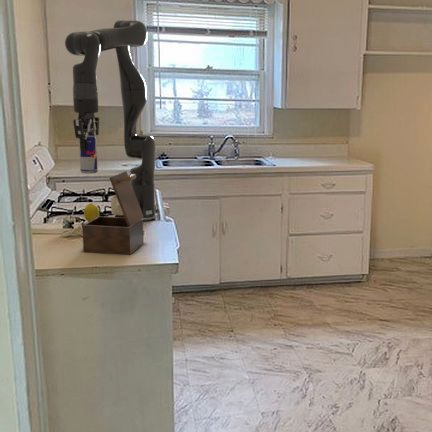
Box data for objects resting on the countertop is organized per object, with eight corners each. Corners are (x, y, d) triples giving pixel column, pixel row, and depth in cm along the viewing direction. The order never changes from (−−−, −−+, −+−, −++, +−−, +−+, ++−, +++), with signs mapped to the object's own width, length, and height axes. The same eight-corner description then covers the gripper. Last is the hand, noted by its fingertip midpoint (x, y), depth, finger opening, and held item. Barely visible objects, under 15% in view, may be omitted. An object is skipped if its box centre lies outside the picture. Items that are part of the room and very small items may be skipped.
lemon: (96, 225, 217) (95, 205, 215) (82, 225, 217) (81, 204, 215) (101, 222, 222) (100, 202, 220) (87, 221, 222) (86, 201, 220)
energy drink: (92, 174, 187) (90, 137, 184) (77, 173, 188) (75, 136, 185) (100, 171, 192) (99, 135, 189) (86, 170, 193) (84, 134, 190)
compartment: (83, 251, 185) (82, 225, 183) (99, 240, 197) (98, 216, 195) (130, 254, 184) (129, 227, 182) (143, 243, 196) (142, 218, 194)
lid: (109, 178, 179) (123, 173, 178) (124, 171, 191) (137, 167, 190) (128, 226, 182) (142, 222, 181) (141, 217, 194) (155, 213, 193)
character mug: (126, 235, 205) (125, 200, 202) (107, 234, 205) (105, 199, 202) (136, 227, 215) (135, 194, 212) (118, 226, 216) (116, 193, 213)
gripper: (84, 96, 191) (87, 147, 195) (63, 97, 178) (66, 152, 181) (106, 97, 191) (108, 148, 195) (86, 98, 177) (89, 153, 181)
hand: (88, 149), depth 188 cm, fingers closed on energy drink, 5 cm apart
